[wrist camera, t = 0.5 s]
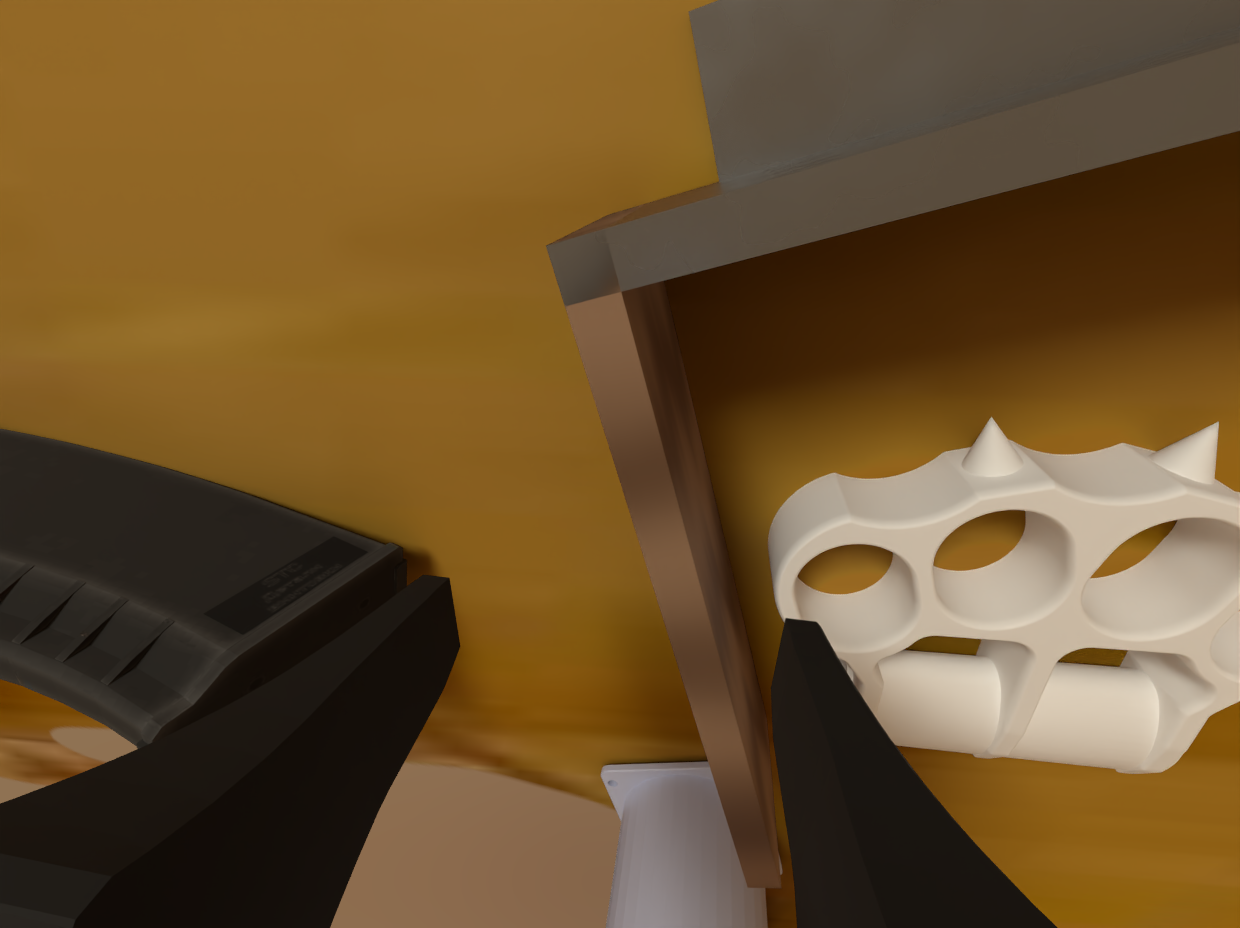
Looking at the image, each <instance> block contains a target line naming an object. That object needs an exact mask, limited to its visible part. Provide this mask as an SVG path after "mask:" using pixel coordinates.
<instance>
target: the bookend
mask: <svg viewBox="0 0 1240 928" xmlns="http://www.w3.org/2000/svg"><path fill="white" fill-rule="evenodd" d="M689 15H690V21H691V26H692V32H693V37H694V43H695V48H696V54H697V59H698V65H699V70H700V76H701V82H702V87H703V93H704V98H705V104H706V109H707V115H708V120H709V126H710V131H711V137H712V143H713V148H714V154H715V159H716V165H717V170H718V176H719V181H720V182H717V183H713V184H710V185H707V186H703V187H700V188H697V189H693V190H690V191H687V192H683V193H680V194H677V195H673V196H670V197H667V198H663V199H660V200H657V201H653V202H650V203H647V204H645V205H643V206H641V207H640V208H638V209H636V210H635V211H633V212H631V213H630V214H628V215H626V216H625V217H623V218H621V219H620V220H618V221H616V222H615V223H613V224H611V225H610V226H608V227H606V228H605V229H602V230H598V231H595V232H592V233H588V234H585V235H581V236H578V237H575V238H571V239H568V240H564V241H561V242H558V243H554V244H552V243H551V245H550V244H549V245H547V246H546V247H547V250H548V253H549V257H550V260H551V263H552V266H553V269H554V273H555V276H556V279H557V282H558V285H559V288H560V292H561V295H562V298H563V301H564V304H566V305H565V306H568V305H573V304H574V302H575V304H576V303H580V302H583V300H582V298H583V299H584V300H585V301H586V300H587V301H588V299H589V300H592V299H595V297H596V296H597V295H598V294H599V295H600V297H601V296H602V295H603V294H604V293H605V296H607V295H608V293H607V295H606V292H604V291H607V289H606V286H605V284H604V283H603V282H605V283H611V285H612V286H613V285H614V286H613V288H614V287H615V286H616V288H614V289H615V290H616V289H617V288H618V286H617V282H618V284H619V286H620V289H621V292H622V291H626V290H630V289H634V288H638V287H642V286H645V285H649V284H653V283H657V282H661V281H665V280H668V279H672V278H676V277H680V276H684V275H688V274H691V273H695V272H699V271H703V270H707V269H711V268H715V267H718V266H722V265H726V264H730V263H734V262H738V261H741V260H745V259H749V258H753V257H757V256H761V255H764V254H768V253H772V252H776V251H780V250H784V249H787V248H791V247H795V246H799V245H803V244H807V243H810V242H814V241H818V240H822V239H826V238H830V237H834V236H837V235H841V234H845V233H849V232H853V231H857V230H860V229H864V228H868V227H872V226H876V225H880V224H883V223H887V222H891V221H895V220H899V219H903V218H906V217H910V216H914V215H918V214H922V213H926V212H929V211H933V210H937V209H941V208H945V207H949V206H952V205H956V204H960V203H964V202H968V201H972V200H976V199H979V198H983V197H987V196H991V195H995V194H999V193H1002V192H1006V191H1010V190H1014V189H1018V188H1022V187H1025V186H1029V185H1033V184H1037V183H1041V182H1045V181H1048V180H1052V179H1056V178H1060V177H1064V176H1068V175H1071V174H1075V173H1079V172H1083V171H1087V170H1091V169H1094V168H1098V167H1102V166H1106V165H1110V164H1114V163H1118V162H1121V161H1125V160H1129V159H1133V158H1137V157H1141V156H1144V155H1148V154H1152V153H1156V152H1160V151H1164V150H1167V149H1171V148H1175V147H1179V146H1183V145H1187V144H1190V143H1194V142H1198V141H1202V140H1206V139H1210V138H1213V137H1217V136H1221V135H1225V134H1229V133H1233V132H1236V131H1240V0H718V1H716V2H713V3H710V4H708V5H705V6H702V7H700V8H697V9H695V10H692V11H689ZM607 216H608V215H607ZM599 220H600V219H599ZM597 221H598V220H597ZM595 222H596V221H595ZM557 241H558V240H557ZM607 244H608V245H607ZM607 246H608V247H609V248H608V247H607ZM609 250H610V251H609ZM598 252H599V253H598ZM607 253H608V254H607ZM610 253H611V254H610ZM599 257H600V258H599ZM610 257H611V258H612V259H611V258H610ZM603 259H604V260H603ZM606 260H607V261H606ZM608 260H609V261H608ZM612 262H613V263H614V266H613V265H612V264H613V263H612ZM596 263H597V264H596ZM598 263H599V264H600V265H599V264H598ZM606 263H607V264H606ZM604 264H605V265H604ZM602 265H603V266H602ZM600 267H602V268H600ZM606 267H607V268H606ZM613 267H614V268H613ZM605 268H606V269H607V270H609V269H610V270H609V272H608V271H607V270H606V269H605ZM613 269H615V270H613ZM612 271H613V273H611V272H612ZM577 272H578V273H577ZM593 272H594V273H593ZM607 272H608V273H609V274H610V273H611V274H612V275H611V274H610V275H609V274H608V273H607ZM615 272H616V274H615ZM595 273H596V274H597V275H596V274H595ZM605 273H607V274H605ZM601 274H602V276H603V278H602V276H601ZM613 274H614V275H613ZM595 275H596V276H595ZM604 275H605V276H604ZM607 275H608V276H607ZM615 275H617V277H615V278H618V280H617V279H614V277H612V276H615ZM609 276H611V277H609ZM586 277H587V278H588V279H589V280H588V279H587V278H586ZM599 277H600V278H599ZM605 277H607V279H608V280H610V279H612V278H613V279H612V280H613V281H614V282H615V281H616V280H617V282H615V283H614V282H612V281H611V280H610V281H611V282H606V281H607V280H606V278H605ZM592 278H593V279H594V280H593V279H592ZM601 279H602V280H604V279H605V281H602V280H601ZM592 280H593V281H592ZM599 280H600V281H599ZM597 281H598V283H597ZM581 282H582V283H581ZM589 282H590V283H589ZM599 283H601V284H599ZM612 283H614V284H612ZM584 284H585V285H584ZM592 284H593V285H594V287H595V288H597V290H596V289H595V288H593V286H592ZM595 285H596V286H597V287H596V286H595ZM600 285H601V286H600ZM606 285H607V284H606ZM609 285H610V284H609ZM611 285H610V286H611ZM598 286H599V287H600V288H601V290H600V289H599V287H598ZM602 286H603V287H602ZM604 287H605V288H604ZM602 288H603V290H604V291H602ZM592 289H593V290H592ZM609 289H610V288H609ZM609 289H608V290H609ZM618 289H619V288H618ZM582 290H583V292H582ZM588 290H589V291H588ZM594 290H595V291H594ZM580 291H581V292H580ZM596 291H597V293H598V294H597V293H596V294H597V295H595V292H596ZM600 291H601V292H600ZM610 291H611V289H610ZM610 291H609V292H610ZM612 291H613V290H612ZM612 291H611V292H612ZM593 292H594V293H593ZM602 292H604V293H603V294H602V295H601V294H600V293H602ZM619 292H620V291H619ZM586 293H587V294H588V295H587V294H586ZM616 293H618V292H616ZM590 294H591V295H590ZM575 295H576V296H575ZM580 295H581V296H580ZM582 295H584V296H585V297H584V296H582ZM594 295H595V296H594ZM587 296H588V297H587ZM603 296H604V295H603ZM568 297H569V298H568ZM581 297H582V298H581ZM580 298H581V299H580ZM597 298H598V297H597ZM573 300H574V302H573ZM571 302H572V303H571Z"/></svg>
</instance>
